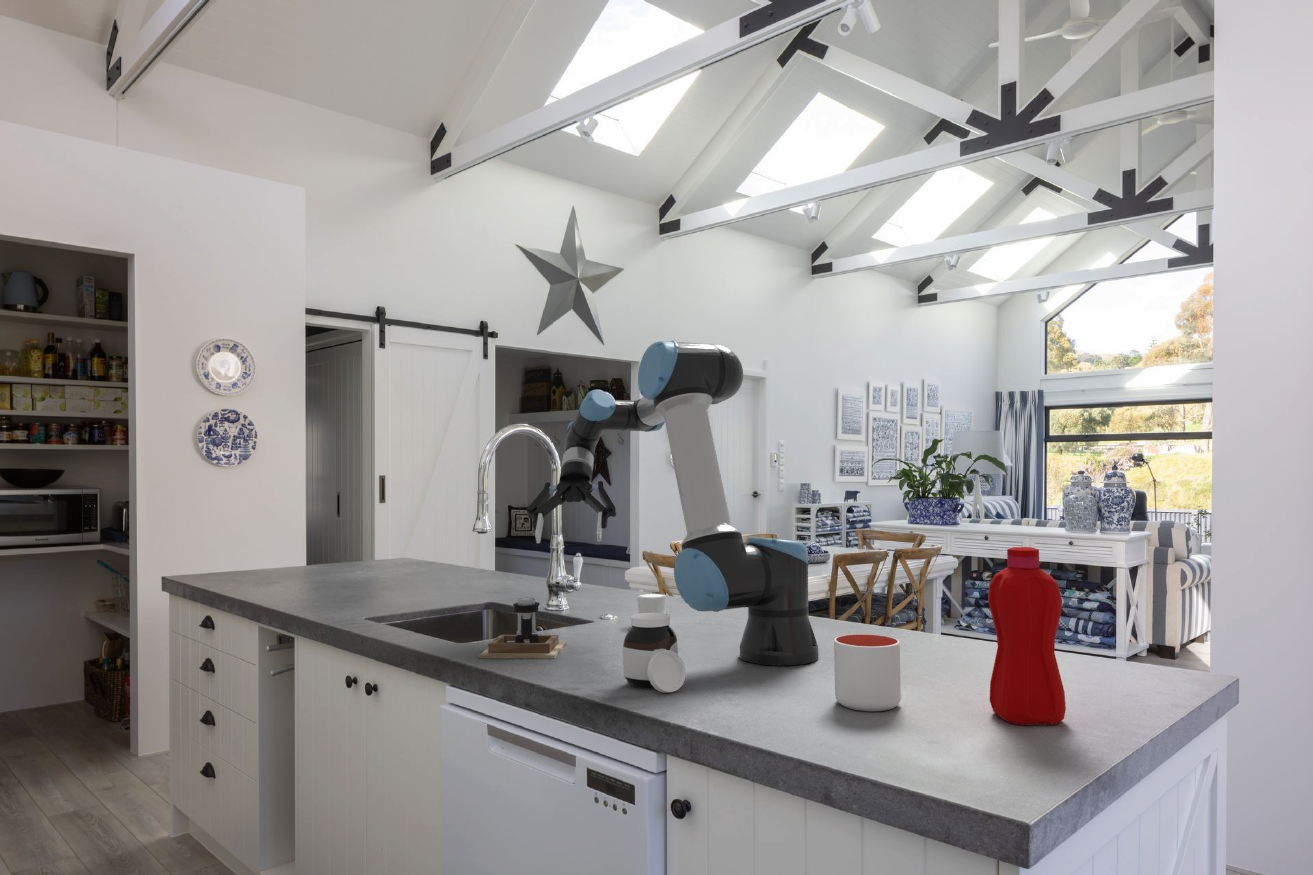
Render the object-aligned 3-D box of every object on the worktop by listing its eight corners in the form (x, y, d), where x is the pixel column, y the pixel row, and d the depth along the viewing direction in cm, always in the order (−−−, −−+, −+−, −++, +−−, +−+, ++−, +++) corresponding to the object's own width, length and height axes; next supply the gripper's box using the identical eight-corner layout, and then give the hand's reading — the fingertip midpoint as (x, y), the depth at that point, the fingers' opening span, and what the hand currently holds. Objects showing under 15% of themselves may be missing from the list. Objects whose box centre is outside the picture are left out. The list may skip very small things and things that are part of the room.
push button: (507, 651, 176) (506, 601, 176) (506, 646, 181) (506, 597, 181) (540, 649, 177) (540, 600, 177) (539, 644, 182) (538, 596, 183)
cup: (889, 717, 130) (888, 649, 130) (825, 708, 135) (824, 642, 135) (909, 701, 138) (907, 637, 139) (848, 693, 144) (846, 631, 144)
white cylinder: (666, 627, 202) (666, 597, 203) (636, 628, 202) (636, 597, 203) (666, 622, 209) (666, 592, 209) (637, 622, 209) (637, 593, 209)
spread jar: (646, 674, 158) (645, 609, 158) (702, 681, 152) (701, 614, 153) (610, 690, 148) (609, 620, 148) (669, 698, 142) (668, 626, 142)
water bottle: (1038, 705, 135) (1034, 542, 136) (1074, 727, 124) (1069, 549, 125) (979, 706, 135) (975, 543, 135) (1009, 728, 124) (1004, 550, 124)
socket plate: (554, 658, 172) (554, 646, 172) (479, 658, 173) (479, 645, 173) (566, 644, 185) (566, 633, 185) (496, 644, 186) (496, 633, 186)
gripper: (630, 480, 211) (625, 548, 195) (527, 483, 212) (515, 550, 197) (627, 458, 206) (622, 525, 190) (522, 460, 207) (509, 528, 192)
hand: (568, 538), depth 193 cm, fingers open, 13 cm apart
